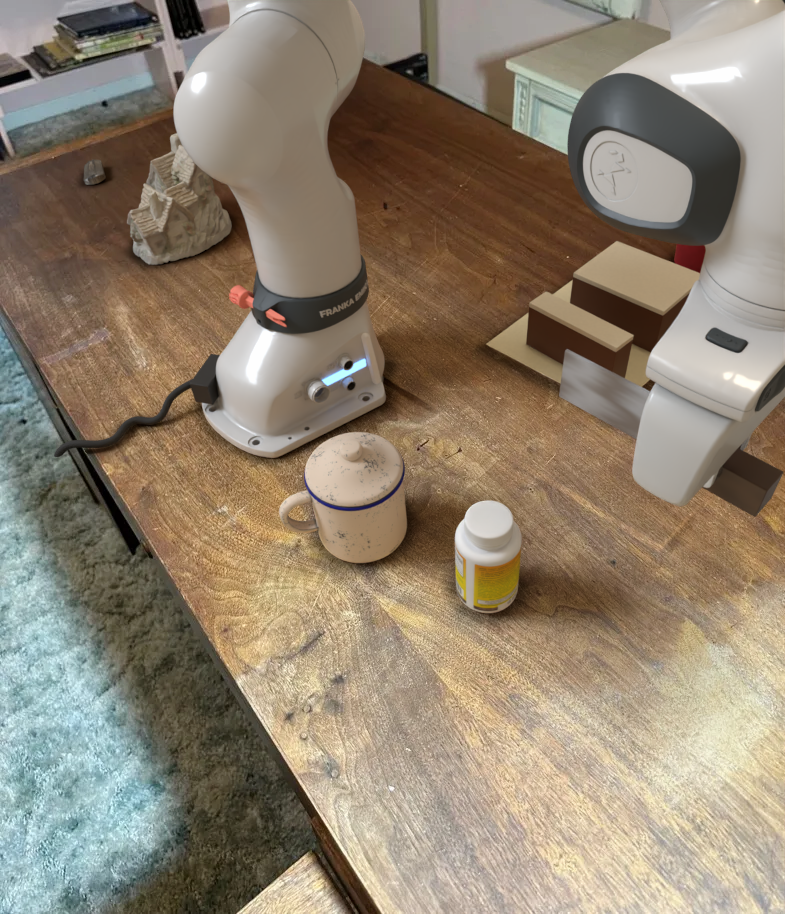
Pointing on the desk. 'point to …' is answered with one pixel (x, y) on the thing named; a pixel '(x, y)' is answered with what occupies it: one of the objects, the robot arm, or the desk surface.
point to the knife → (622, 408)
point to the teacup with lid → (353, 497)
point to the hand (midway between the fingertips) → (716, 464)
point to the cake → (633, 291)
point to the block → (93, 172)
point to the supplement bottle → (487, 557)
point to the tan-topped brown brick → (576, 334)
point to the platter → (517, 349)
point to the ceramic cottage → (177, 210)
